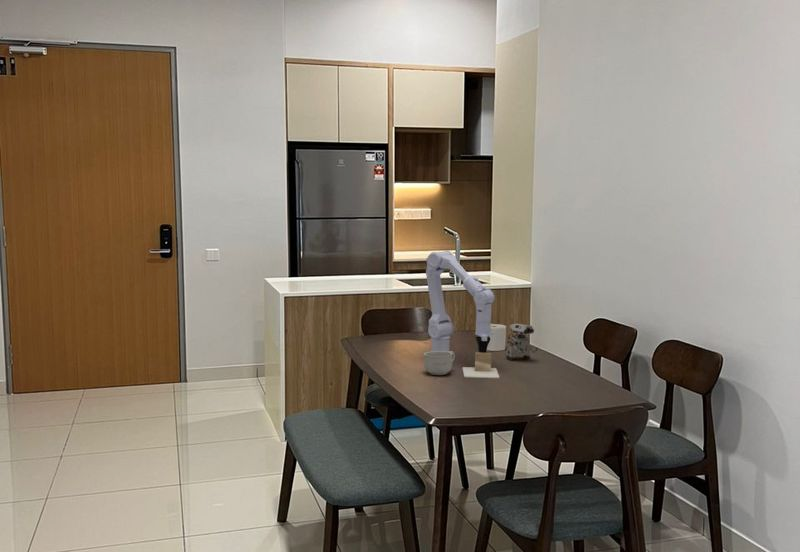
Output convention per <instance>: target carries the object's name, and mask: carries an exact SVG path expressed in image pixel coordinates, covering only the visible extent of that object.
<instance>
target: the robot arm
mask: <svg viewBox="0 0 800 552" xmlns="http://www.w3.org/2000/svg"><path fill="white" fill-rule="evenodd" d="M426 264H427V265H426V270H425V275H426V282H427V288H428V295H429V301H430V308H431V317H430V318H429V319H428V327H427V331H428V332H427V333H428V335H429V337H430V339H431V348H430V349H431V351H448V352H449V351H450V339H451V335H452V334H453V332H454V325H453V323H452V320H451V317H450V316H449V314H447V313H446V307H445V306H446V305H445V300H444V292H443V286H442V280H441V275H442V273H443V272H444V271H445V270H449V271H451V272H452V273H453V274H454V275H455V276H456V277H458V279H459V280H460V281H462V282H463V283H462V286H463V287H464V289H465V290H466V291H467V292H468V293H469V294H470V295H471V296H472V297H473V301H474V302H473V303H475V309H476V314H475V316H476V317H475V318H476V319H475V332H474V335H476V336H475V338H474V339H475V340H476V342H477V347H478V352H483V353H487V351H488V350H487V346H488V344H489V342H490V340H491V339H490V337H489V336H490V335H493V334H494V333H493V332H491V324H492V304H493V303H494V301H495V299H496V296H495V293H494V291H493V290H492V289H490V288H487V287H486V286H484V285H483V284H482V283H481V282H480V281H479V278H478V277H477V276H473V275H469V273H468V272H467V271H466V270H465V269H464V267H463V266H462V265H461V264H460V262H459V261H458V260H457V258H456V256H455V254H453V252H451V251H449V250H444V251H432V252H431V253H429V255H427V257H426Z"/></svg>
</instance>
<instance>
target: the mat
mask: <svg viewBox="0 0 800 552" xmlns="http://www.w3.org/2000/svg"><path fill="white" fill-rule="evenodd" d="M462 373H463V377H464V378H472V379H473V378H475V379H476V378H477V379H500V375H499V373H498V370H497V368H496V367H491V372H486V371H475V366H473V367H472V366H471V367H470V366H469V367H468V366H467V367H466V366H463V367H462Z"/></svg>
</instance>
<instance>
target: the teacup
mask: <svg viewBox="0 0 800 552" xmlns="http://www.w3.org/2000/svg"><path fill="white" fill-rule="evenodd" d="M423 359H424V361H423V362H424V368H425V371H426V372H427V373H429V375H433V376H443V375H447V374H448V373H449V372H450V371H451V370H452V369H453V368H452V367H453V362H454V361H455V359H456V354H455V351H452V350H449V352H448V351H426V352H424V353H423Z"/></svg>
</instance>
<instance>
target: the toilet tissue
mask: <svg viewBox="0 0 800 552" xmlns="http://www.w3.org/2000/svg"><path fill="white" fill-rule="evenodd" d="M491 332H493V333H494V334H493V335H490V336H489V337H490V339H491V340H490V342H489V344H488V346H487V350H486V351H492V352H500V351H505V350H506V342H507V341H506V340H507V325H504V324H498V323H491Z"/></svg>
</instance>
